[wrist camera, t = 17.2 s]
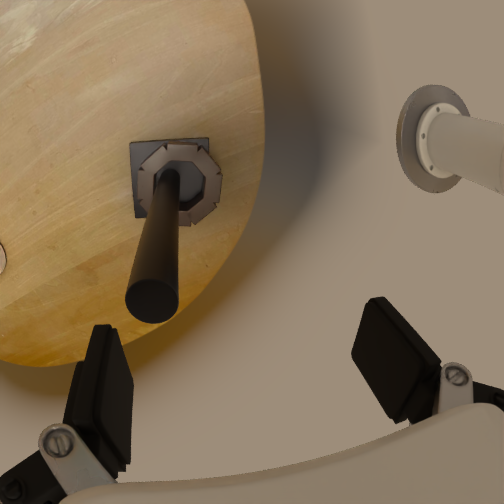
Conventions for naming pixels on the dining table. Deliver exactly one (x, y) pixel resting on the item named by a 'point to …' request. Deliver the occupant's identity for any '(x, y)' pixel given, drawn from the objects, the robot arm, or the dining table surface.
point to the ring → (187, 153)
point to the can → (2, 259)
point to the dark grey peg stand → (160, 233)
